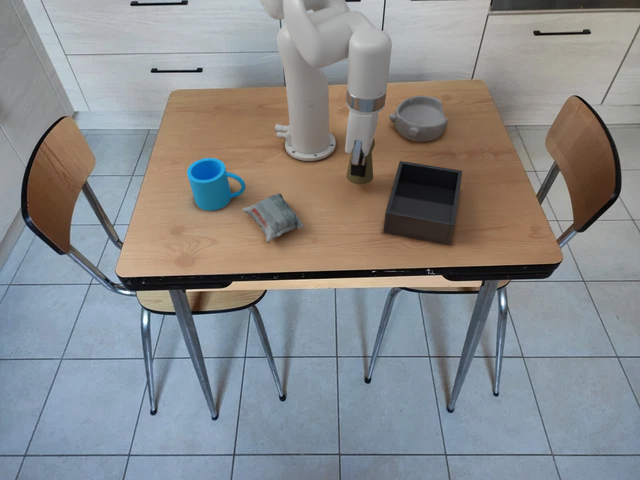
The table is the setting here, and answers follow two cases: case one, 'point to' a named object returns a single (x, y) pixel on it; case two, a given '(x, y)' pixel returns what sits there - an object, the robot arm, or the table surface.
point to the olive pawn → (369, 169)
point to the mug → (212, 183)
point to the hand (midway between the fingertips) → (360, 167)
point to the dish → (420, 118)
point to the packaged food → (274, 216)
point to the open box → (423, 202)
